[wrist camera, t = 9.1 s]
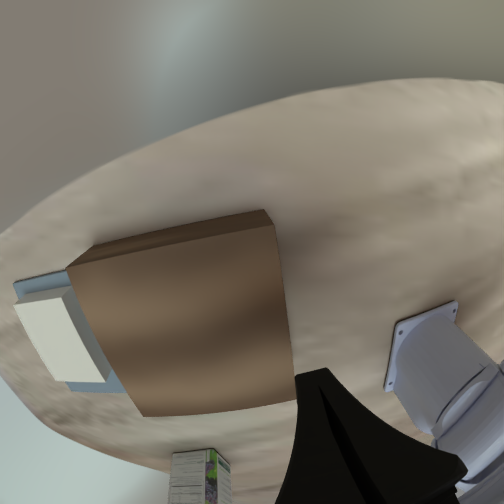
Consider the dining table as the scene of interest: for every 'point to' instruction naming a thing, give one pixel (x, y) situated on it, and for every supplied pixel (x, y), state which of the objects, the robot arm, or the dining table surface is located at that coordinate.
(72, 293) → the tile
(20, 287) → the mat
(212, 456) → the syrup box
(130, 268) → the block
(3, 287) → the dining table surface
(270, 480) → the dining table surface
